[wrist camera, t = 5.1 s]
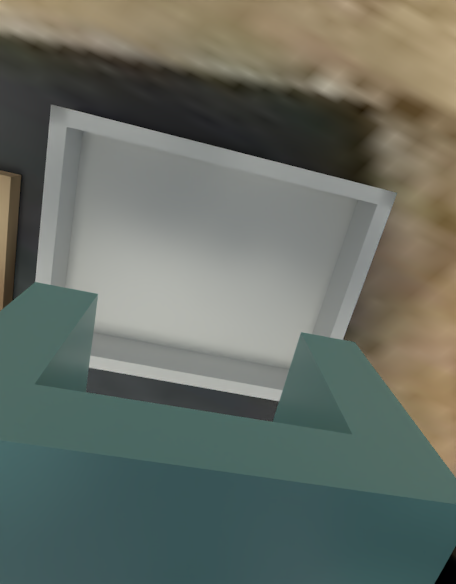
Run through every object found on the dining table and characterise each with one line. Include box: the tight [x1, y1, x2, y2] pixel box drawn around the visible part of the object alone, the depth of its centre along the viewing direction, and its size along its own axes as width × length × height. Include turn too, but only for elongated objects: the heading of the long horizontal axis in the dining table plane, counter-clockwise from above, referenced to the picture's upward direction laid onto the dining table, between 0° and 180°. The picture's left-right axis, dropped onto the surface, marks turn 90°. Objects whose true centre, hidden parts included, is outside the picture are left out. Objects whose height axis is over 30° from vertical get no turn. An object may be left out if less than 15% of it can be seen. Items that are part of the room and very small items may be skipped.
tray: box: [35, 105, 397, 401], centre depth 18 cm, size 10×13×3 cm
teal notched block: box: [0, 282, 456, 584], centre depth 7 cm, size 4×7×4 cm, turn 77°
